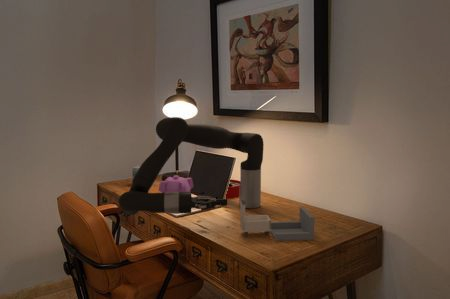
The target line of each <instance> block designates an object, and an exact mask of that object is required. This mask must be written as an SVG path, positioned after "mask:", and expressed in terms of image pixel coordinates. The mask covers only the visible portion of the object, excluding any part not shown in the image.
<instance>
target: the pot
mask: <svg viewBox="0 0 450 299" xmlns="http://www.w3.org/2000/svg"><path fill="white" fill-rule="evenodd" d="M193 182H194V181H193V178H192V177H187V178H184V177H181V176H179V175H173V177H172V176H167V178H166V179H165V180H162V181H159V184H158V192H159V193H168V192H191V190H192V189H193V188H194V183H193Z"/></svg>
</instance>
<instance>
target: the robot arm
mask: <svg viewBox="0 0 450 299" xmlns="http://www.w3.org/2000/svg"><path fill="white" fill-rule="evenodd" d="M155 133H156V135H157V136H158V138H159V139H161V140H162V141H161V142H160V143H159V145H158V146H157V148H155V149H154V151H153V152H151V153H150V155H149V156H148V157H147V158H145V160H144V161H143V162H142V164H141V165H139V166H140V168H139V170H138V171H137V173H136V175H135V176H134V178H133V177H132V181H131V182H132V183H131V187H130V188H129V189H128V191H125V192H123V193H121V195H120V196H119V198H118V205H119V207H120V209H121V210H122V211H123V212H124V214H126V215H129V216H133V215H137V214H138V213H139V212H149V213H151V214H173V215H174V214H191V213H192V208H193V209H196V210H200V211H206V210H207V211H208V210H211V209H216V207H217V206H218V207H219V206H220V207H223V206H224V207H225V206H228V199H216V198H214V197H212V196H206V195H204V194H200V195H196V196H193V197H192V192H191V191H190V192H168V193H162V192H149V191H150V189H152V187H153V186H154V185H153V183H154V181H155V182H156V180H157V178H158V176H159V174H160V172H161V171H162V169H163V167H164V166H165V165H166V164H167V162H168V161H169V159H170V158H171V156H173V154H174V153H175V151H176V150H177V148H178V147H179V146H180V145H181V144H182V142H183V143H189V144H192V145H194V146H195V145H196V146H200V147H205V148H210V149H215V150H216V149H218V150H223V149H230V150H235V151H237V152H239V153H240V152H241V153H243V154H247V155H246V156H247V157H246V160H243V161H241V162H240V167H239V168H240V180H239V181H240V185H239V197H238V198H239V199H238V203H239V205H240V207H241V200H240V198H241V197H243V198H244V200H245V202H246V203H245V209H258V208H260V207H261V203H262V202H261V198H262V197H261V196H262V195H261V194H262V189H261V188H262V164H263V161H264V160H263V159H264V145H265V144H264V139H263V136H262V135H261V134H260V133H255V132H254V133H253V132H236V131H235V132H234V131H230V130H228V129H226V128H224V127H221V126H218V125H211V124H195V123H194V124H193V123H192V124H190V123H188V122H187V121H186V120H185V119H184V118H183V117H180V116H179V117H177V116H173V117H164V118H162V119H161V120H159V121H158V122H157V124H156V126H155ZM152 185H153V186H152ZM151 186H152V187H151Z"/></svg>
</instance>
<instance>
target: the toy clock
mask: <svg viewBox="0 0 450 299" xmlns="http://www.w3.org/2000/svg"><path fill="white" fill-rule="evenodd" d="M239 185H240V180H237V179H233V178H232V179H231V180H230V184H229V187H228V191H227V194H226V199H227V198H230V199H235V197H236V198H239V197H238V196H239ZM227 200H228V199H227Z"/></svg>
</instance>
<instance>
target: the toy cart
mask: <svg viewBox="0 0 450 299" xmlns="http://www.w3.org/2000/svg"><path fill="white" fill-rule="evenodd" d="M240 200H241V206H240V228H241V231H242V233H243V235H244V236H246V237H247V236H248V235H249V233H257V232H258V233H259V232H264V235H266V236H269V235H270V231H271V222H272V220H271V218H270V216H269V215H268V214H252V215H250V214H249V215H246V208H245V203H246V202H245V200H244V198H243V197H241V198H240Z"/></svg>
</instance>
